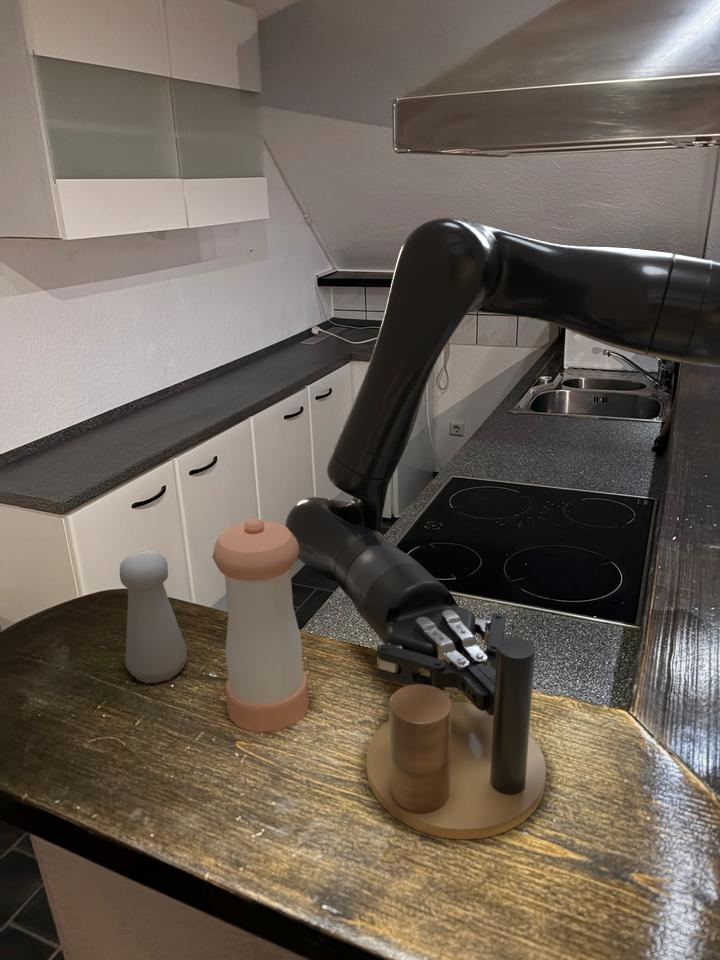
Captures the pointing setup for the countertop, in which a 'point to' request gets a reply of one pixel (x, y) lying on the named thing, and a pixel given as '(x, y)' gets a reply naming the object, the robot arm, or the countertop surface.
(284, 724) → the pepper shaker
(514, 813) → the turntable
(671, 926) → the countertop surface
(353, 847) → the countertop surface
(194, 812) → the countertop surface
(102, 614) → the countertop surface
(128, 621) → the salt shaker
